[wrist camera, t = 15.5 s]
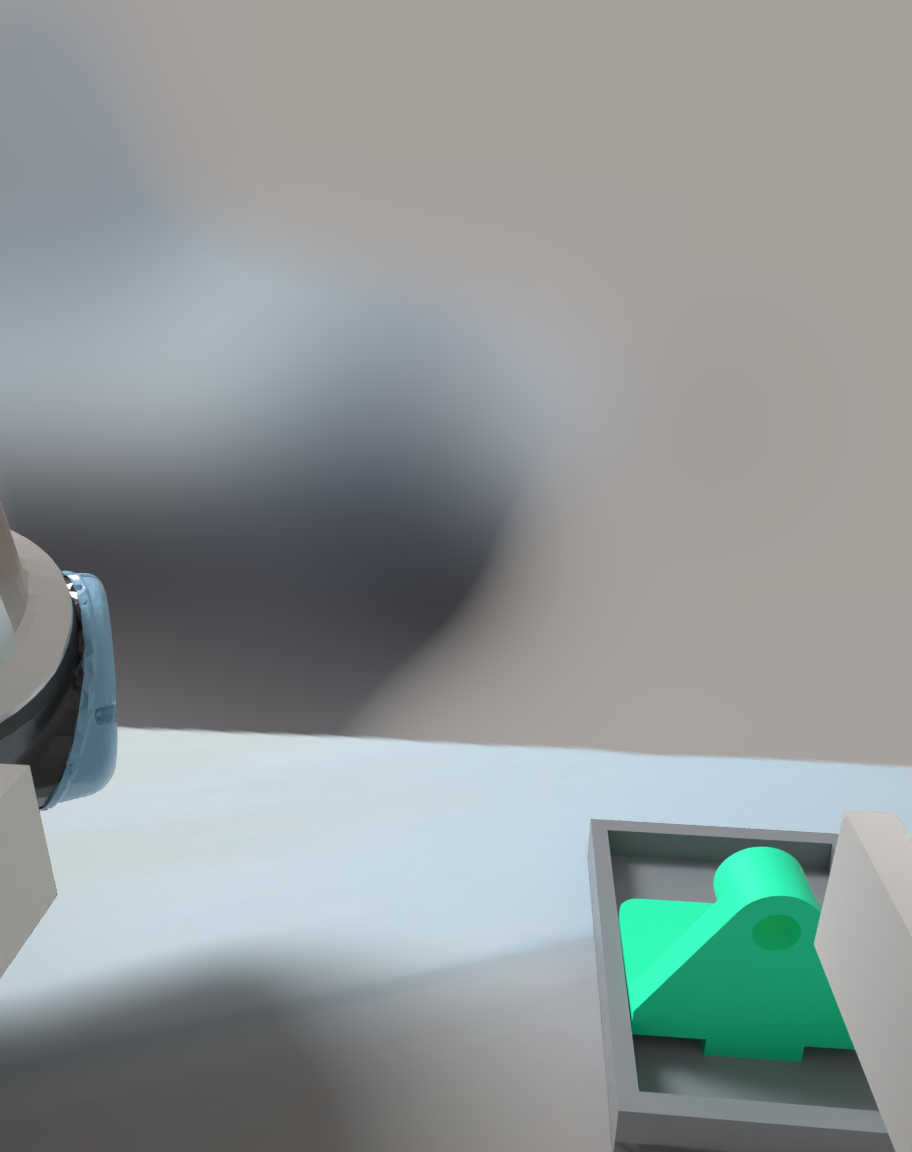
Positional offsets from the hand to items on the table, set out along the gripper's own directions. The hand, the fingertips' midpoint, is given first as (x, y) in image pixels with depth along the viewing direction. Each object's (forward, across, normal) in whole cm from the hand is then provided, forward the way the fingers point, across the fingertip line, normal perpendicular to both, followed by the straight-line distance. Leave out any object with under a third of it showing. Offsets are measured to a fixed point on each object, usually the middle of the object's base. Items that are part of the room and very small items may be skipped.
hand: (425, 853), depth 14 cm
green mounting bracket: (+24, +14, -29) cm, 40 cm away
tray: (+25, +15, -30) cm, 42 cm away
